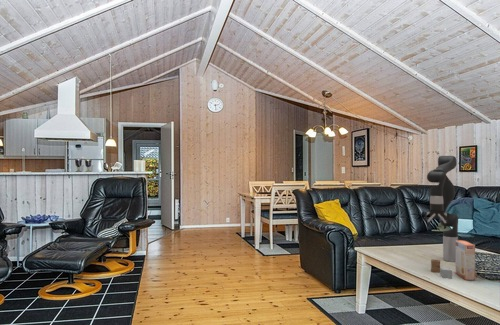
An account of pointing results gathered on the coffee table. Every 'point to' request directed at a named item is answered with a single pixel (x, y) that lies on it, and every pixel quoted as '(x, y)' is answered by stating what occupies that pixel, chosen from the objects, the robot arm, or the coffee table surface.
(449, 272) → the grey block
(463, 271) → the cracker box
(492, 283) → the coffee table surface
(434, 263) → the walnut block
